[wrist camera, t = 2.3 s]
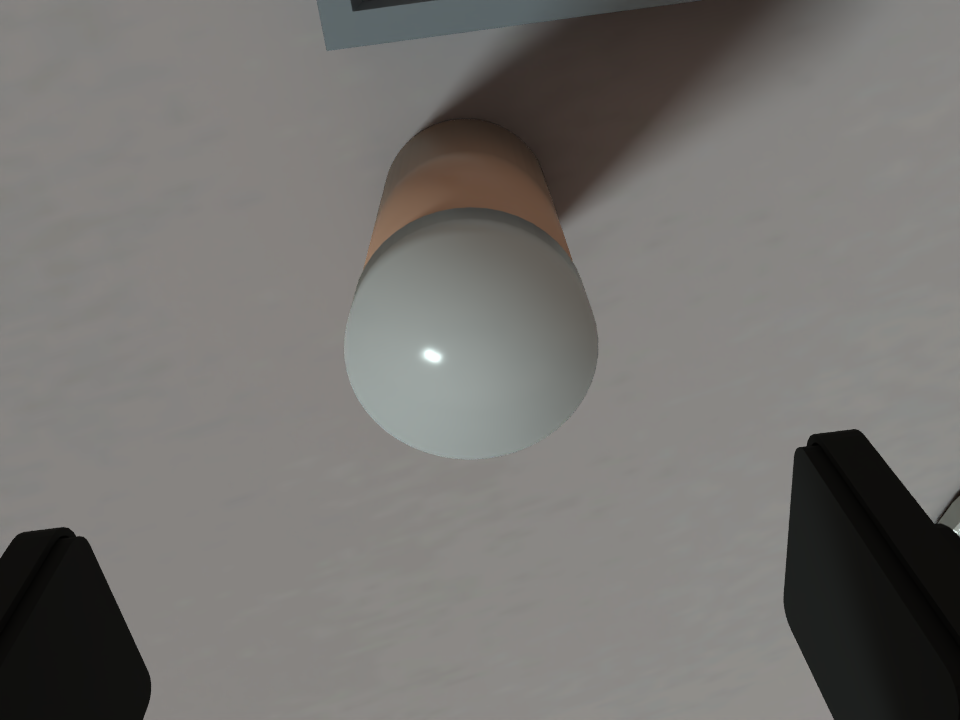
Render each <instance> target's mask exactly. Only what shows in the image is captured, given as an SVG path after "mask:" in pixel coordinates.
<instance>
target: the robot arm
mask: <svg viewBox="0 0 960 720" xmlns="http://www.w3.org/2000/svg"><path fill="white" fill-rule="evenodd" d="M784 609H785V613H786V617H787V621H788V624H789V626H790V628H791V631H792V633H793V635H794V637H795V639H796V641H797V643H798V645H799V647H800V649H801V651H802V654H803V656H804V658H805V660H806V662H807V664H808V666H809V668H810V670H811V672H812V674H813V677H814V679H815V681H816V683H817V685H818V687H819V689H820V691H821V693H822V695H823V697H824V700H825V702H826V704H827V706H828V708H829V710H830V712H831V714H832V716H833V718H834V720H960V496H959V497H958V498H957V499H956V500H955V501H954V502H953V503H952V504H951V506H950V507H949V508H948V510H947V511H946V512H945V514H944V515H943V517H942V518H941V519H940V521H939V522H938V524H934V523H933V522H932V520H931V519H930V518H929V517H928V515H927V514H926V513H925V512H924V510H923V509H922V508H921V506H920V505H919V504H918V503H917V501H916V500H915V499H914V498H913V496H912V495H911V494H910V493H909V491H908V490H907V489H906V487H905V486H904V485H903V484H902V482H901V481H900V480H899V479H898V477H897V476H896V475H895V473H894V472H893V471H892V470H891V468H890V467H889V466H888V465H887V463H886V462H885V461H884V460H883V458H882V457H881V456H880V454H879V453H878V452H877V451H876V449H875V448H874V447H873V446H872V444H871V443H870V442H869V440H868V439H867V438H866V437H865V435H864V434H863V433H862V432H860V431H859V430H856V429H852V430H844V431H836V432H828V433H820V434H813V435H811V436H810V438H809V440H808V443H807V446H806V447H799V448H797V449H796V451H795V455H794V465H793V478H792V492H791V505H790V518H789V531H788V545H787V558H786V571H785V585H784ZM150 695H151V680H150V675H149V672H148V670H147V668H146V666H145V664H144V661H143V659H142V657H141V655H140V653H139V650H138V648H137V646H136V644H135V642H134V640H133V637H132V635H131V633H130V631H129V629H128V627H127V624H126V622H125V620H124V618H123V616H122V614H121V611H120V609H119V607H118V605H117V603H116V600H115V598H114V596H113V594H112V592H111V590H110V587H109V585H108V583H107V581H106V579H105V577H104V574H103V572H102V570H101V568H100V566H99V563H98V561H97V559H96V557H95V555H94V553H93V550H92V548H91V546H90V544H89V542H88V541H87V539H85V538H84V537H81V536H78V537H76V535H75V534H74V532H73V531H72V530H70V529H69V528H65V527H61V528H53V529H45V530H37V531H29V532H23V533H20V534H18V535H17V536H16V537H15V538H14V539H13V540H12V542H11V543H10V545H9V546H8V548H7V549H6V551H5V552H4V554H3V555H2V557H1V558H0V720H143V718H144V715H145V712H146V710H147V707H148V704H149V700H150Z"/></svg>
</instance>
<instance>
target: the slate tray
mask: <svg viewBox="0 0 960 720" xmlns="http://www.w3.org/2000/svg"><path fill="white" fill-rule="evenodd" d="M693 1H700V0H317V5H318V10H319V15H320V20H321V25H322V30H323V35H324V40H325V45H326V50H327V51H329V50H337V49H344V48H352V47H359V46H366V45H374V44H381V43H389V42H396V41H404V40H411V39H418V38H426V37H433V36H441V35H448V34H456V33H463V32H470V31H478V30H485V29H493V28H500V27H507V26H515V25H522V24H530V23H537V22H545V21H552V20H559V19H567V18H574V17H582V16H589V15H596V14H604V13H611V12H619V11H626V10H634V9H641V8H648V7H656V6H663V5H671V4H678V3H685V2H693Z"/></svg>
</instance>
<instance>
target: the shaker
mask: <svg viewBox="0 0 960 720" xmlns="http://www.w3.org/2000/svg"><path fill="white" fill-rule="evenodd" d="M344 358H345V364H346V370H347V374H348V377H349V380H350V384H351V386H352V388H353V390H354V392H355V394H356V397H357V398H358V400H359V401H360V403H361V404H362V406H363V408H364V409H365V410H366V412H367V413H368V414H369V415H370V416H371V417H372V419H373V420H374V421H375V422H376V423H377V424H378V425H380V426H381V427H382V428H383V429H384V430H385V431H386V432H388V433H389V434H391V435H392V436H394V437H395V438H396V439H398V440H400V441H401V442H403V443H405V444H407V445H409V446H411V447H413V448H416V449H418V450H421V451H423V452H426V453H430V454H433V455H437V456H441V457H447V458H454V459H487V458H493V457H499V456H503V455H507V454H510V453H514V452H517V451H520V450H522V449H524V448H527V447H529V446H532V445H533V444H535V443H537V442H539V441H541V440H542V439H544V438H546V437H547V436H548V435H550V434H551V433H553V432H554V431H555V430H557V429H558V428H559V427H560V426H561V425H562V424H563V423H564V422H566V421H567V420H568V418H569V417H570V416H571V415H572V414H573V413H574V411H575V410H576V409H577V408H578V406H579V405H580V403H581V402H582V400H583V399H584V397H585V395H586V393H587V391H588V389H589V387H590V385H591V382H592V379H593V376H594V373H595V370H596V364H597V358H598V335H597V327H596V323H595V319H594V316H593V312H592V309H591V306H590V303H589V300H588V298H587V295H586V292H585V289H584V286H583V283H582V280H581V277H580V275H579V273H578V271H577V269H576V267H575V265H574V263H573V261H572V258H571V255H570V252H569V249H568V246H567V243H566V240H565V237H564V234H563V231H562V228H561V225H560V222H559V219H558V216H557V213H556V210H555V207H554V204H553V201H552V198H551V195H550V192H549V189H548V186H547V183H546V180H545V177H544V174H543V171H542V169H541V167H540V165H539V162H538V160H537V159H536V157H535V156H534V154H533V152H532V151H531V150H530V149H529V148H528V146H527V145H526V144H525V143H524V142H523V141H522V140H521V139H519V138H518V137H517V136H516V135H514V134H513V133H511V132H510V131H509V130H507V129H505V128H503V127H501V126H499V125H496V124H493V123H490V122H487V121H482V120H477V119H454V120H449V121H444V122H441V123H438V124H435V125H433V126H431V127H429V128H427V129H425V130H423V131H421V132H420V133H418V134H417V135H415V136H414V137H413V138H412V139H411V140H410V141H408V142H407V143H406V144H405V146H404V147H403V148H402V149H401V150H400V151H399V153H398V154H397V156H396V158H395V159H394V161H393V163H392V165H391V167H390V169H389V172H388V175H387V179H386V182H385V186H384V190H383V194H382V198H381V202H380V206H379V210H378V214H377V218H376V222H375V226H374V229H373V233H372V237H371V241H370V245H369V249H368V253H367V257H366V261H365V265H364V269H363V272H362V274H361V276H360V278H359V281H358V284H357V288H356V291H355V295H354V298H353V302H352V306H351V310H350V314H349V318H348V321H347V325H346V332H345V338H344Z"/></svg>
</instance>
